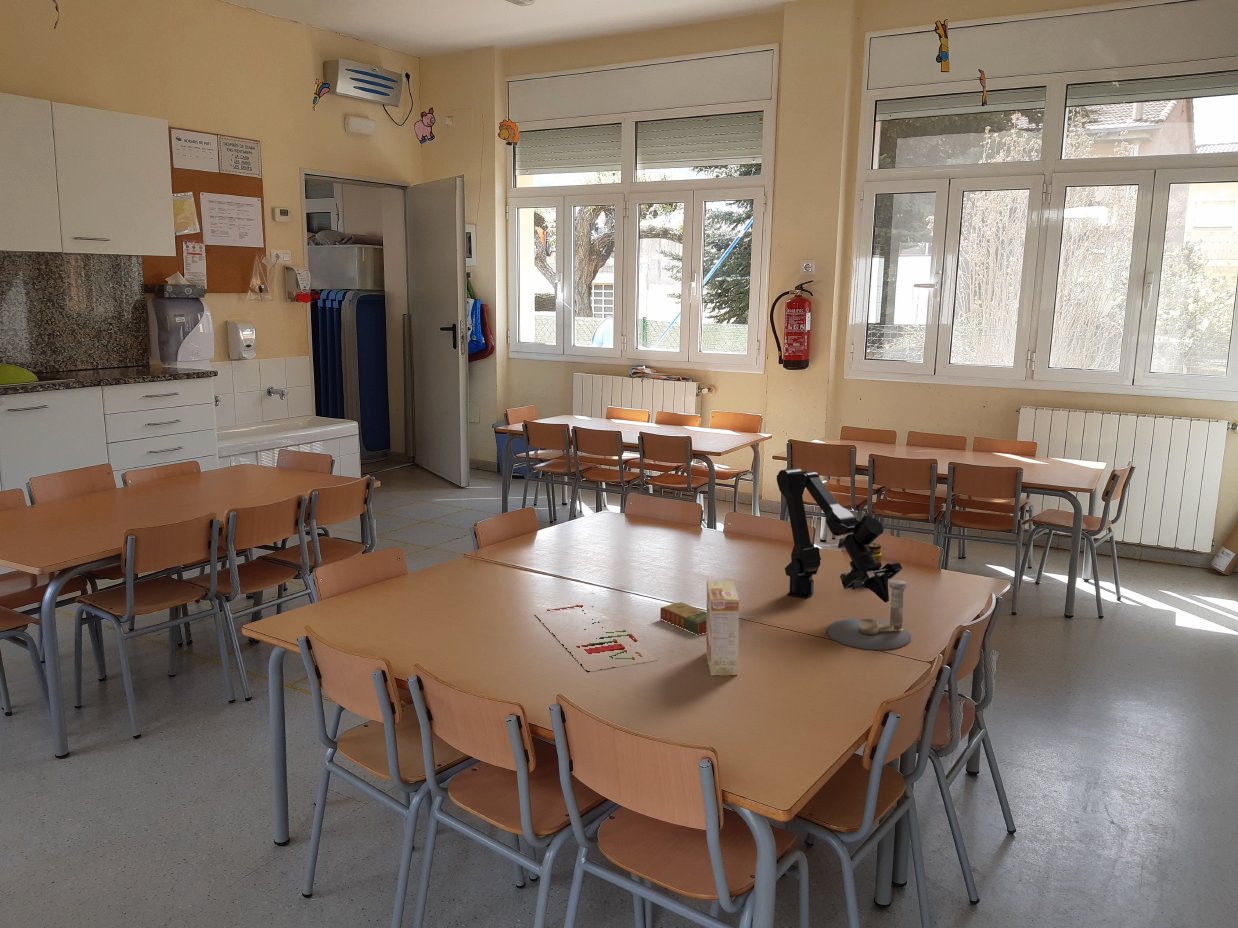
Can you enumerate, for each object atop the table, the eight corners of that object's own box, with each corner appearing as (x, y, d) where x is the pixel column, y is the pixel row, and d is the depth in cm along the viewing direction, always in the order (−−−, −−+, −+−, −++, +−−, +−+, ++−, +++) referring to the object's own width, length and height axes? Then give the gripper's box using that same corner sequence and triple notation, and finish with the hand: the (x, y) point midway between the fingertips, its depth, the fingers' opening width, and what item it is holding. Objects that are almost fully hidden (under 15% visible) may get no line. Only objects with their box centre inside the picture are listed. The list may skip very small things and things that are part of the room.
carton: (681, 614, 260) (681, 600, 259) (720, 630, 247) (720, 615, 247) (659, 621, 255) (659, 606, 254) (697, 637, 242) (698, 622, 242)
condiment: (886, 580, 289) (888, 545, 287) (868, 585, 285) (870, 549, 282) (868, 575, 295) (870, 540, 293) (851, 579, 291) (852, 544, 288)
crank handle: (864, 634, 239) (866, 587, 237) (855, 628, 244) (857, 582, 242) (907, 631, 242) (910, 584, 239) (898, 625, 246) (901, 579, 244)
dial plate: (816, 640, 238) (816, 637, 238) (839, 615, 257) (840, 613, 257) (900, 655, 228) (900, 653, 228) (918, 628, 246) (918, 626, 246)
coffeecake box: (705, 652, 231) (706, 579, 228) (732, 652, 231) (734, 580, 227) (709, 675, 216) (710, 599, 213) (738, 676, 216) (740, 599, 213)
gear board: (658, 653, 226) (587, 665, 219) (658, 662, 226) (587, 674, 219) (596, 599, 267) (534, 608, 260) (596, 607, 267) (534, 616, 260)
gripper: (867, 562, 263) (894, 609, 256) (820, 572, 254) (846, 621, 247) (889, 543, 255) (917, 590, 248) (841, 552, 246) (869, 602, 239)
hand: (887, 601), depth 246 cm, fingers closed
